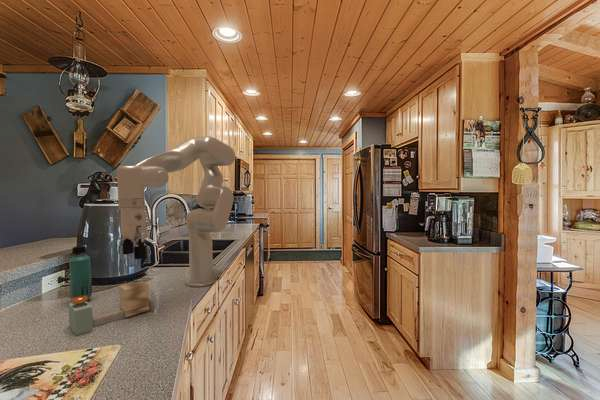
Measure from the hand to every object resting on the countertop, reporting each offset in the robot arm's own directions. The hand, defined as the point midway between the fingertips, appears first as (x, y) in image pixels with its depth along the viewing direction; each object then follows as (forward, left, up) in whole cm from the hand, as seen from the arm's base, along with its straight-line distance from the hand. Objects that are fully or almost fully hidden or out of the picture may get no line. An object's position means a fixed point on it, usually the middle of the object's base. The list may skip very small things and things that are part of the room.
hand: (134, 256), depth 99 cm
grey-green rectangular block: (+15, +1, -19) cm, 24 cm away
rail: (+4, +1, -19) cm, 19 cm away
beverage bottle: (+10, -24, -19) cm, 32 cm away
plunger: (+15, +1, -16) cm, 22 cm away
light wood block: (+1, +1, -18) cm, 18 cm away
